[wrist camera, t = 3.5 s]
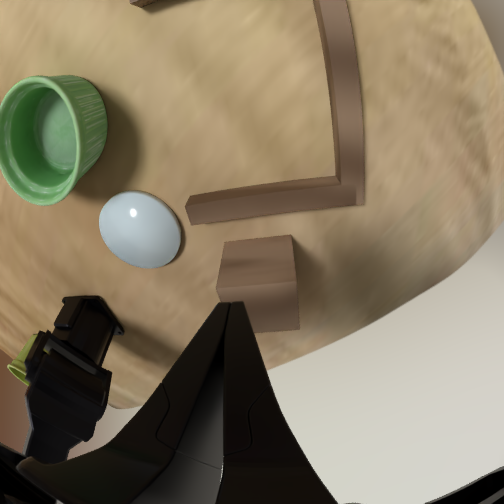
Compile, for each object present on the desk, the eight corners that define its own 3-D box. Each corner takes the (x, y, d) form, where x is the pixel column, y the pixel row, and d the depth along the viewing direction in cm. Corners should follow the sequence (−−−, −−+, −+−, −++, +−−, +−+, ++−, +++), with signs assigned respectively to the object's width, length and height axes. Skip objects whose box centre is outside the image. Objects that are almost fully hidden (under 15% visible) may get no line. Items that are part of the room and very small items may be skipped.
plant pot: (20, 319, 32) (0, 358, 25) (62, 342, 34) (44, 386, 27) (32, 344, 38) (16, 378, 31) (70, 364, 40) (55, 401, 33)
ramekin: (88, 44, 11) (46, 46, 8) (136, 148, 16) (105, 173, 13) (18, 111, 13) (-19, 129, 10) (60, 195, 18) (30, 223, 15)
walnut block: (295, 282, 23) (299, 329, 19) (237, 287, 24) (232, 334, 20) (290, 234, 20) (296, 281, 16) (225, 241, 21) (215, 288, 17)
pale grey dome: (192, 259, 22) (191, 263, 21) (123, 267, 23) (120, 271, 22) (164, 181, 18) (161, 184, 17) (89, 200, 19) (86, 204, 18)
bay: (356, 193, 18) (363, 204, 17) (195, 214, 19) (191, 225, 18) (325, -44, 8) (330, -52, 6) (137, -10, 9) (126, -15, 8)
